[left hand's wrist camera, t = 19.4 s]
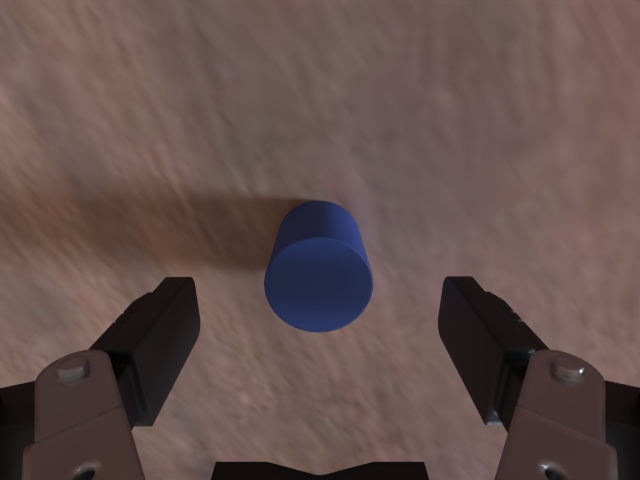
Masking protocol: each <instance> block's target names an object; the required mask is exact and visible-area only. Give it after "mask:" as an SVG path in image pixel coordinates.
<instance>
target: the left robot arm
mask: <svg viewBox="0 0 640 480" xmlns="http://www.w3.org/2000/svg"><path fill="white" fill-rule="evenodd" d="M115 321H116V322H115V323H113V324H112V325H111V326H110V327H109V328H108V329H107V330H106V331H105V332H104V333H103V334H102V335H101V336H100V338H99V339H98V340H97V341H96V342H95V343H94V344H93V345H92V346H91V347H90V348H89V349H88V350H83V351H78V352H75V353H71V354H69V355H66V356H64V357H62V358H60V359H58V360H56V361H54V362H53V363H51V364H50V365H48V366H47V367H46V368H45V369H43V370H42V372H41V373H40V374H39V375H38V376H37V378H36V380H35V381H33V382H28V383H23V384H18V385H14V386H9V387H4V388H0V480H145V476H144V473H143V469H142V466H141V463H140V459H139V456H138V452H137V449H136V445H135V442H134V439H133V435H132V432H131V431H132V429H133V427H134V426H153V424H154V422H155V420H156V418H157V416H158V414H159V412H160V410H161V408H162V406H163V404H164V402H165V400H166V399H167V397H168V395H169V393H170V391H171V389H172V387H173V385H174V383H175V381H176V379H177V377H178V375H179V373H180V371H181V370H182V368H183V366H184V364H185V362H186V360H187V358H188V356H189V354H190V352H191V350H192V348H193V346H194V344H195V343H196V341H197V338H198V336H199V331H200V315H199V308H198V302H197V295H196V288H195V283H194V280H193V278H192V277H166V278H165V279H164V280H163V281H162V282H161V283H160V284H159V286H158V287H157V288H156V289H155V290H154V291H153V292H148V293H147V294H145V295H143V296H142V297H140V298H138V299H136V300H135V301H133V302H132V303H131V304H130V305H129V307H128V308H127V309H126V310H125V311H124V314H121V315H120V316H119V317H118V318H117V319H116V320H115ZM438 330H439V334H440V337H441V340H442V342H443V344H444V345H445V347H446V349H447V351H448V353H449V355H450V357H451V359H452V361H453V363H454V365H455V367H456V369H457V371H458V373H459V375H460V377H461V379H462V381H463V383H464V385H465V387H466V388H467V390H468V392H469V394H470V396H471V398H472V400H473V402H474V404H475V406H476V408H477V410H478V412H479V414H480V416H481V418H482V420H483V422H484V424H485V425H503V426H504V427H505V429H506V431H507V433H508V435H507V439H506V442H505V445H504V449H503V452H502V456H501V459H500V463H499V466H498V469H497V473H496V476H495V480H640V388H638V387H633V386H629V385H624V384H619V383H615V382H610V381H605V380H604V378H603V376H602V375H601V374H600V373H599V372H598V370H597V369H595V368H594V367H593V366H592V365H590V364H589V363H587V362H586V361H584V360H582V359H580V358H578V357H576V356H574V355H571V354H569V353H565V352H562V351H557V350H550V349H549V348H548V347H547V346H546V345H545V344H544V343H543V342H542V341H541V340H540V339H539V338H538V336H537V335H536V334H535V333H534V332H533V331H532V330H531V329H530V328H529V327H528V326H527V325H526V324H525V322H522V319H521V318H520V317H519V316H518V315H517V314H516V313H514V311H513V309H512V308H511V307H510V306H509V305H508V304H507V303H506V302H505V301H504V300H502V299H501V298H499V297H497V296H496V295H494V294H492V293H491V292H485V291H484V290H483V289H482V288H481V286H480V285H479V284H478V283H477V282H476V281H475V279H474V278H473V277H470V276H447V277H446V278H445V280H444V283H443V289H442V295H441V302H440V309H439V316H438ZM211 480H429V478H428V474H427V471H426V467H425V464H424V462H371V463H367V464H363V465H360V466H356V467H352V468H348V469H345V470H341V471H337V472H333V473H330V474H326V475H314V474H310V473H307V472H303V471H299V470H295V469H292V468H288V467H284V466H280V465H277V464H273V463H269V462H216V464H215V467H214V471H213V474H212V478H211Z"/></svg>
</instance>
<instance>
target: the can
mask: <svg viewBox="0 0 640 480" xmlns="http://www.w3.org/2000/svg"><path fill="white" fill-rule="evenodd" d="M264 287H265V294H266V297H267V300H268V302H269V304H270V306H271V308H272V309H273V311H274V312H275V313H276V314H277V315H278V316H279V317H280V318H281V319H282V320H283V321H285V322H286V323H288V324H289V325H291V326H293V327H295V328H298V329H301V330H305V331H310V332H328V331H333V330H337V329H340V328H342V327H344V326H346V325H348V324H350V323H351V322H353V321H354V320H355V319H357V318H358V317H359V316H360V315H361V314H362V312H363V311H364V310H365V308H366V307H367V305H368V303H369V301H370V298H371V295H372V291H373V277H372V273H371V269H370V266H369V263H368V259H367V256H366V253H365V249H364V246H363V243H362V239H361V236H360V233H359V229H358V226H357V224H356V222H355V220H354V219H353V217H352V216H351V215H350V214H349V213H348V212H347V211H346V210H345V209H343V208H342V207H340V206H338V205H336V204H334V203H330V202H325V201H312V202H308V203H304V204H302V205H300V206H298V207H296V208H295V209H293V210H292V211H291V212H290V213H289V214H288V215H287V216H286V217H285V219H284V220H283V222H282V224H281V226H280V229H279V232H278V235H277V239H276V242H275V245H274V248H273V251H272V255H271V258H270V261H269V264H268V267H267V270H266V274H265V281H264Z"/></svg>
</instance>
